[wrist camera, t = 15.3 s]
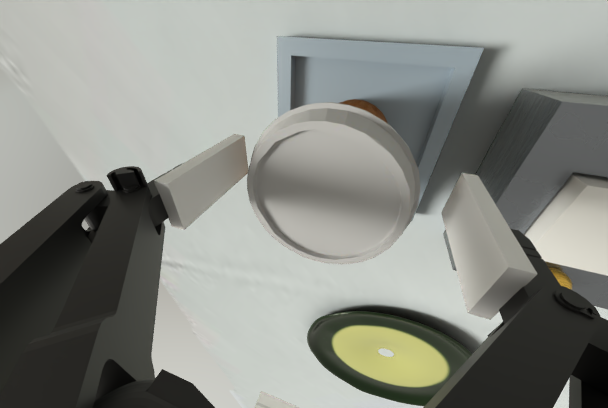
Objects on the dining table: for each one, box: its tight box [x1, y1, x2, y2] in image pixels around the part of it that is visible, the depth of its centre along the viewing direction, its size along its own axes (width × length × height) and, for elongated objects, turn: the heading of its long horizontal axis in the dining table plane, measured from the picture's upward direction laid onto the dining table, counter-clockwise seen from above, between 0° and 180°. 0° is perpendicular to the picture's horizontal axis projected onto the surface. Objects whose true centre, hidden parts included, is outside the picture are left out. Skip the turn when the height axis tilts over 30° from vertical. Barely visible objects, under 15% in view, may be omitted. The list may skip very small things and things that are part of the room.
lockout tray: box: [277, 36, 484, 220], centre depth 21 cm, size 14×14×2 cm
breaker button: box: [524, 172, 608, 276], centre depth 16 cm, size 6×6×6 cm
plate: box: [307, 311, 472, 406], centre depth 40 cm, size 28×28×2 cm
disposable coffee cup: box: [247, 99, 421, 264], centre depth 17 cm, size 10×10×12 cm
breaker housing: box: [444, 89, 608, 309], centre depth 17 cm, size 14×12×7 cm
